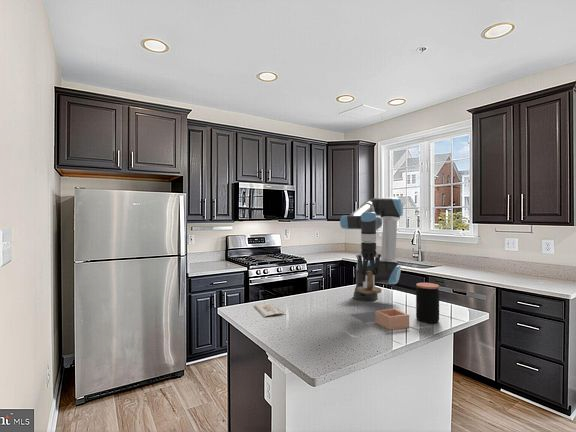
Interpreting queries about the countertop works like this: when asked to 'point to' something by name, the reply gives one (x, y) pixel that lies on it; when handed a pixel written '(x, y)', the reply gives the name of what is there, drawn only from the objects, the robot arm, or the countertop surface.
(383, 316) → the pink open box
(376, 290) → the lid
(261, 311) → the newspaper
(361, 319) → the mat
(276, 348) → the countertop surface
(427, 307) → the coffee jar
